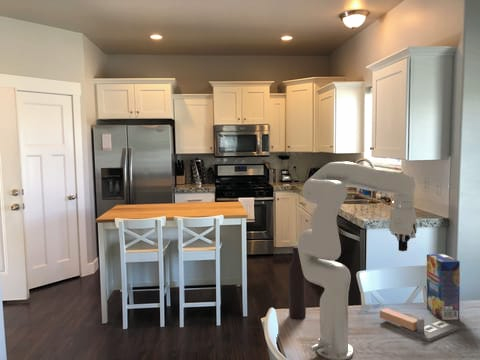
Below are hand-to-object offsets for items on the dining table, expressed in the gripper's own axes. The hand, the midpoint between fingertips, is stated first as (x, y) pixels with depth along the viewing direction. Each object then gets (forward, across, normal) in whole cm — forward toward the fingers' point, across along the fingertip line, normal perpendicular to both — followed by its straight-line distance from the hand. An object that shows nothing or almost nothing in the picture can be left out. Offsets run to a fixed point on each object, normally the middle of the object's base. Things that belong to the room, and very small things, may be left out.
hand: (402, 250), depth 151 cm
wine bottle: (+30, -26, -34) cm, 52 cm away
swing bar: (+27, +3, -6) cm, 28 cm away
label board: (+29, +10, +2) cm, 31 cm away
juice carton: (+29, +4, +20) cm, 35 cm away
